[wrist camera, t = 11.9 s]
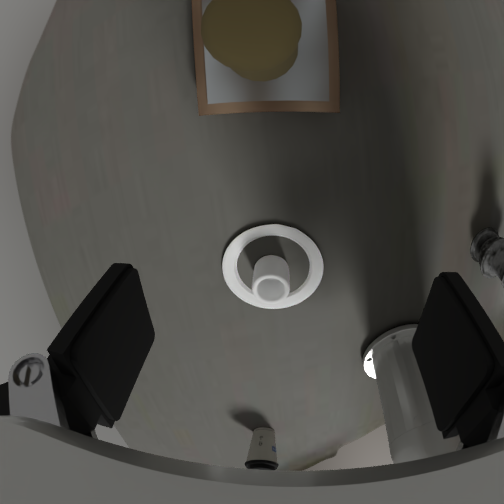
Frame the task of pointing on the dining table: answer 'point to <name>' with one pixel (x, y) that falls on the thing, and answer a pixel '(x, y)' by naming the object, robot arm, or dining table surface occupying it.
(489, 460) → the robot arm
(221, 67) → the wooden framed mirror
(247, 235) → the candle holder
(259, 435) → the coffee cup
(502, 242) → the dark grey tiered figure
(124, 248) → the dining table surface
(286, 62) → the cork
